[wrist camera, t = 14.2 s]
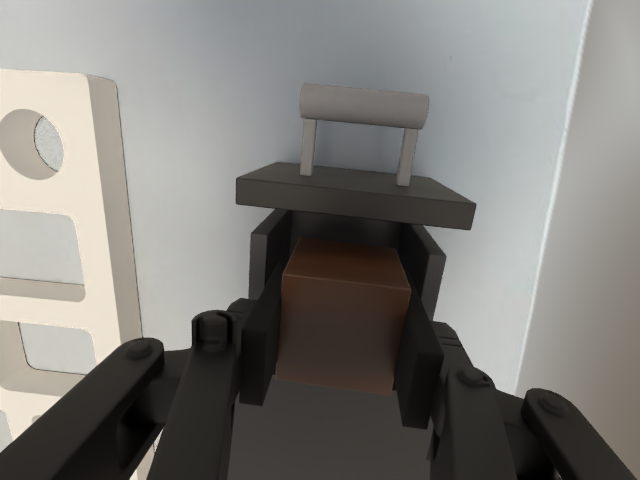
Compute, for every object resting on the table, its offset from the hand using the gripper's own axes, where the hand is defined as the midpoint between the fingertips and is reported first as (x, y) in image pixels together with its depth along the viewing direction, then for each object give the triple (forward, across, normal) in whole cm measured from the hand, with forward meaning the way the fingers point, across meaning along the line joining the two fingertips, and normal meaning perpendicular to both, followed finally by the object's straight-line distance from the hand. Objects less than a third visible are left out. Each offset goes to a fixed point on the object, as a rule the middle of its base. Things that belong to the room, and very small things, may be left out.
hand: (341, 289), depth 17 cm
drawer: (+8, 0, 0) cm, 8 cm away
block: (0, 0, 0) cm, 0 cm away
